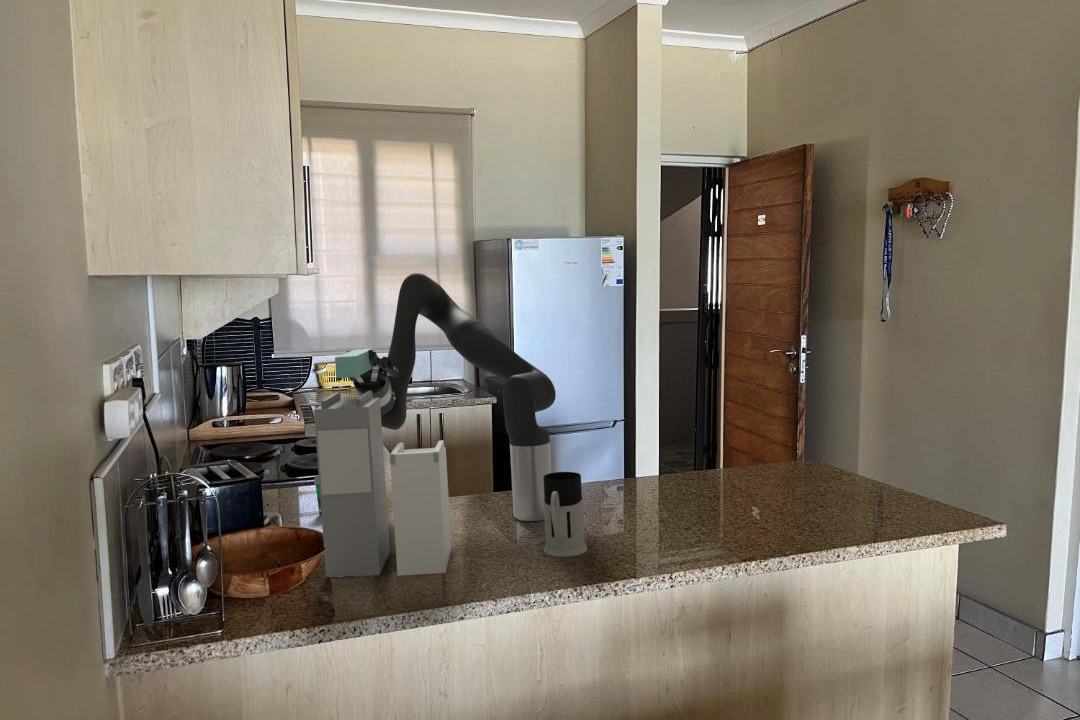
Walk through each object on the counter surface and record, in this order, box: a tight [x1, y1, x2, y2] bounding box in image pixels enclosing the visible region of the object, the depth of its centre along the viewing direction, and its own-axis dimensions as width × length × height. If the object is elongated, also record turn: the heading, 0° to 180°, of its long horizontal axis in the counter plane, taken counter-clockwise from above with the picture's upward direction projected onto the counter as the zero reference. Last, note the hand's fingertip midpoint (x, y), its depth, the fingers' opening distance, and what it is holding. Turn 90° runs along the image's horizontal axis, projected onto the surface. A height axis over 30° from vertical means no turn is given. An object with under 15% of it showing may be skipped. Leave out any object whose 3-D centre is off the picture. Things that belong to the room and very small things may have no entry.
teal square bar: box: [334, 348, 374, 379], centre depth 165 cm, size 4×20×4 cm, turn 3°
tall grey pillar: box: [313, 391, 391, 578], centre depth 157 cm, size 10×13×34 cm
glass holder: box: [543, 471, 588, 558], centre depth 159 cm, size 9×14×15 cm, turn 167°
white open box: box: [389, 439, 452, 577], centre depth 158 cm, size 9×15×23 cm, turn 2°
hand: (359, 354), depth 169 cm, fingers closed on teal square bar, 4 cm apart
